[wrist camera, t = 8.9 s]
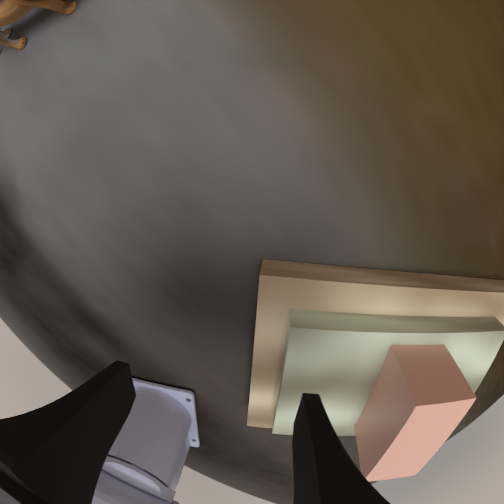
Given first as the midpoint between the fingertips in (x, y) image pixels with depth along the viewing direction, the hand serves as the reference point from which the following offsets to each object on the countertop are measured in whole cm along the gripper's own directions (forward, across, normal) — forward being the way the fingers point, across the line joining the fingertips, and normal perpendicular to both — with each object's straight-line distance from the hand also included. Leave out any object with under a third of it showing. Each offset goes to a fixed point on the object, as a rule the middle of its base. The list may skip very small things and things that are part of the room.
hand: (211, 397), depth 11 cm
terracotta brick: (+5, -11, +4) cm, 13 cm away
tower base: (+10, -11, +4) cm, 16 cm away
